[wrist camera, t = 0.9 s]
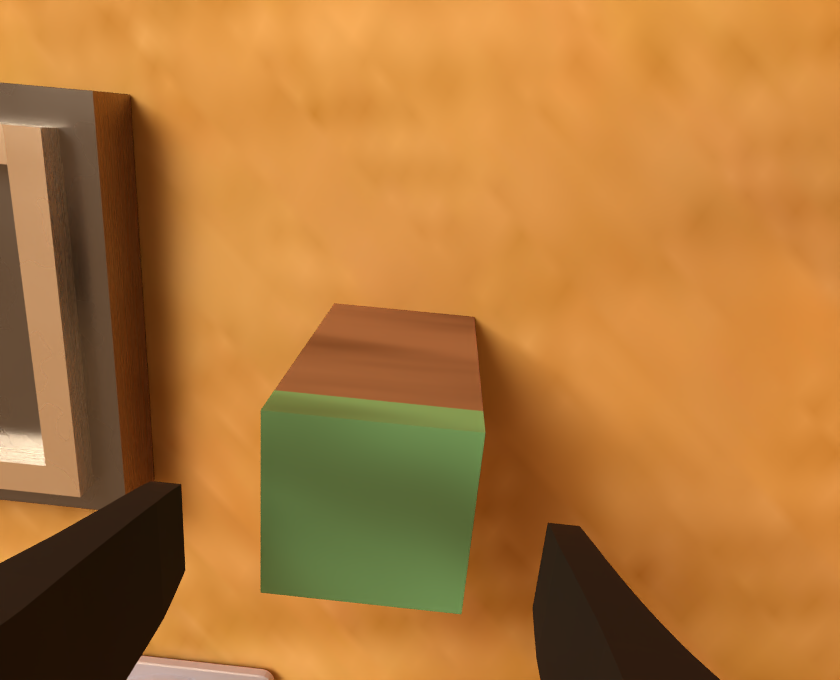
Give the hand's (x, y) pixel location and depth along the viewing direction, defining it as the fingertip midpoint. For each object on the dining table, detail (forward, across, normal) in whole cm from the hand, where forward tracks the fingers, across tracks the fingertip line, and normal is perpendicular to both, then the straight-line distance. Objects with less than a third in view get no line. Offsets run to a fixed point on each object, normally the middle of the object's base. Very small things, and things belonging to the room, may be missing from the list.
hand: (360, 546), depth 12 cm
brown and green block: (+9, 0, 0) cm, 9 cm away
